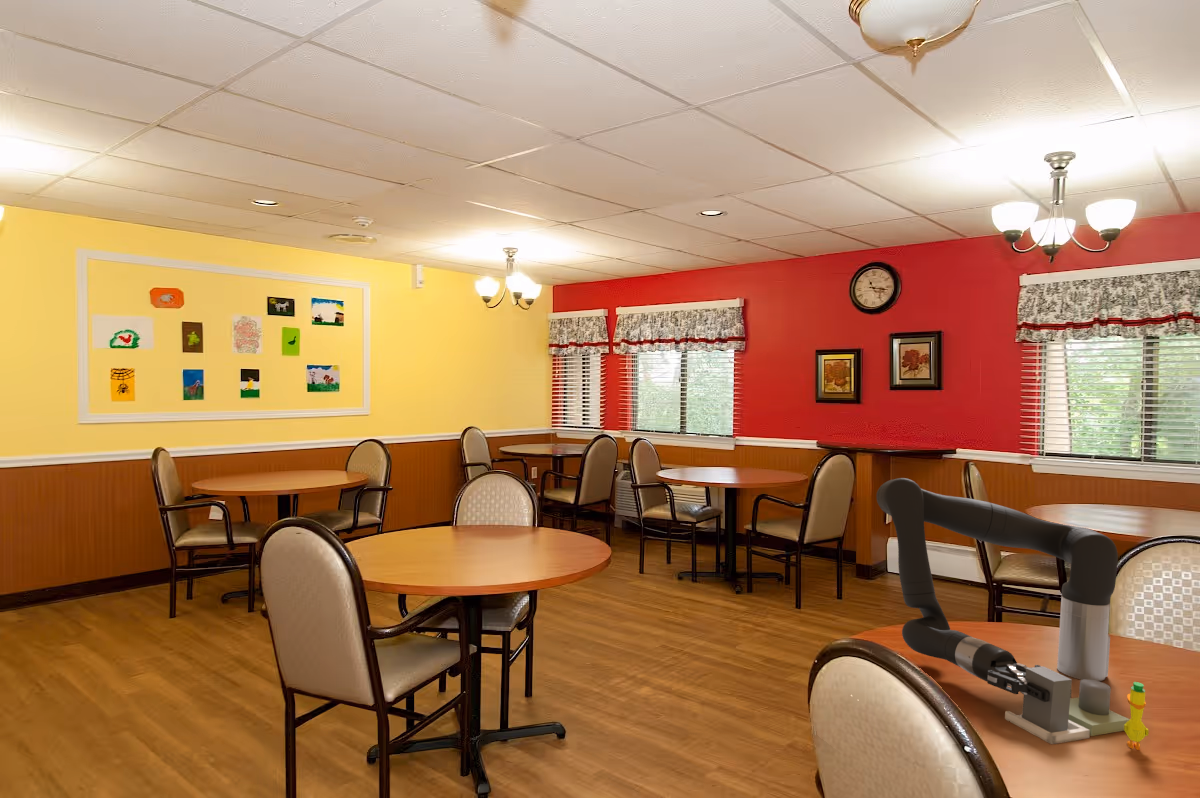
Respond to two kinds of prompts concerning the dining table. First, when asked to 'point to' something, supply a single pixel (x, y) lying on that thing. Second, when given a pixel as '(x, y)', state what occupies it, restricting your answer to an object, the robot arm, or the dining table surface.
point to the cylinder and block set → (1080, 716)
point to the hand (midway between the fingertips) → (1058, 695)
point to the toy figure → (1136, 716)
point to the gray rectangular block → (1057, 708)
